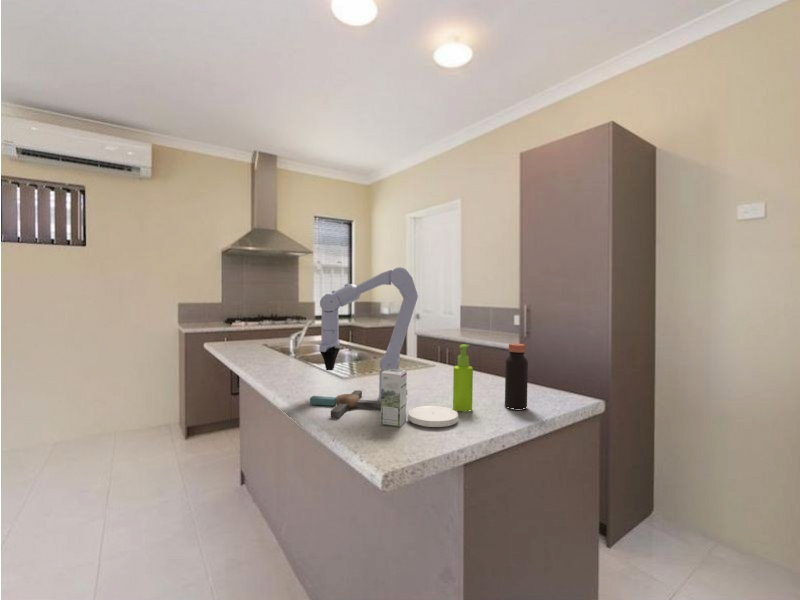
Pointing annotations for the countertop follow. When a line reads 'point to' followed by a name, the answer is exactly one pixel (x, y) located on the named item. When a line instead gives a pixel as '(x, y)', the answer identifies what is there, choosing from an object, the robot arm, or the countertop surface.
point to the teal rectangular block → (323, 400)
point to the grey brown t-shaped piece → (352, 404)
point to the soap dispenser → (463, 382)
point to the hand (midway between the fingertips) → (329, 370)
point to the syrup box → (393, 397)
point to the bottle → (516, 377)
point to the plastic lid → (433, 416)
